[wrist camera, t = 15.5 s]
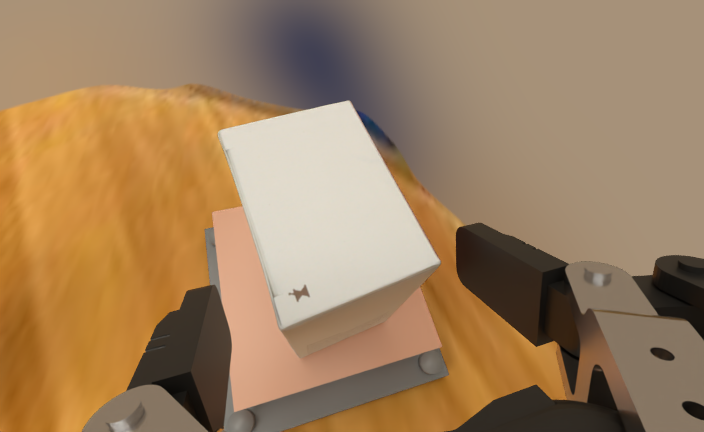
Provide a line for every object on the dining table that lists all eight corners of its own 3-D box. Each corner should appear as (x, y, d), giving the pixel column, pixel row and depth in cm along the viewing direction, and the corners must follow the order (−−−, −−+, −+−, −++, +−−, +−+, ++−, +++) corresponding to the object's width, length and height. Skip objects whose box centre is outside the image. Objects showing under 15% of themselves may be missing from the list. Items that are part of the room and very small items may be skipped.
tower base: (231, 445, 22) (196, 472, 16) (209, 236, 29) (178, 192, 22) (442, 375, 26) (486, 372, 19) (379, 201, 32) (396, 154, 26)
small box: (386, 322, 20) (449, 268, 11) (297, 361, 18) (280, 338, 9) (337, 211, 23) (352, 94, 14) (257, 237, 22) (214, 125, 12)
